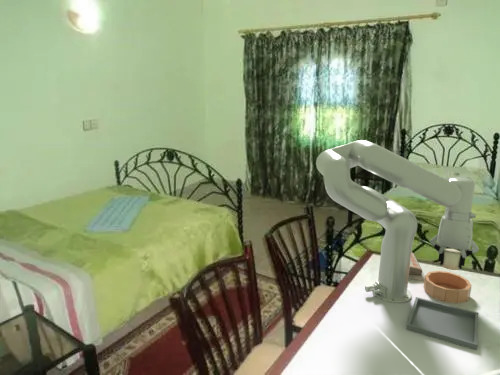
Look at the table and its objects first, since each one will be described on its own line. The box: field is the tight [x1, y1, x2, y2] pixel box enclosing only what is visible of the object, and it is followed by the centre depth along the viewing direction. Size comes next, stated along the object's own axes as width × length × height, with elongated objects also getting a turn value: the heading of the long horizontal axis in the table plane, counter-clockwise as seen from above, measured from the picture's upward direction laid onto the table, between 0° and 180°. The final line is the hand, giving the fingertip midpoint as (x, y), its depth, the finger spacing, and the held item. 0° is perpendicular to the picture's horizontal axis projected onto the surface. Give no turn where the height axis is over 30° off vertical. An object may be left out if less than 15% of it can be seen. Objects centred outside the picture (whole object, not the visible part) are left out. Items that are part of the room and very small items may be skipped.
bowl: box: [423, 270, 473, 304], centre depth 134 cm, size 14×14×5 cm
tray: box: [406, 296, 479, 351], centre depth 116 cm, size 18×18×2 cm
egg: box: [441, 248, 462, 271], centre depth 131 cm, size 5×5×6 cm
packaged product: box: [408, 251, 426, 281], centre depth 152 cm, size 18×5×10 cm
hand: (450, 264), depth 132 cm, fingers closed on egg, 5 cm apart
